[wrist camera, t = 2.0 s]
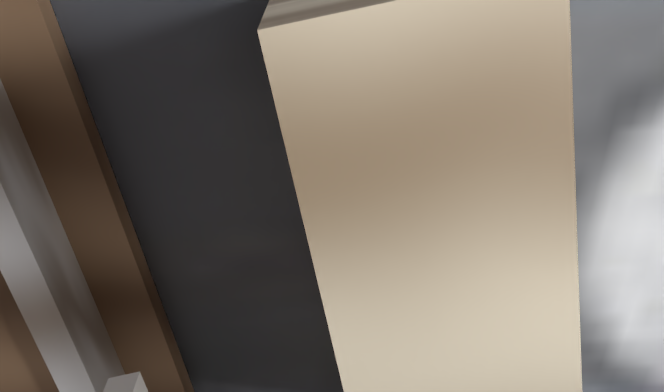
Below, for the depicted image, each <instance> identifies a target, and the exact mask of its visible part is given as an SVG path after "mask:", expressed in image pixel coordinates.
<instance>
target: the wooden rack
mask: <svg viewBox="0 0 664 392" xmlns="http://www.w3.org/2000/svg"><path fill="white" fill-rule="evenodd" d="M139 371H140V373H141V376H142V378H143V380H144V383H145V385H146V388H147V390H148V392H194V389H193V387H192V384H191V381H190V378H189V376H188V373H187V370H186V368H185V365H184V362H183V360H182V357H181V354H180V351H179V349H178V346H177V343H176V341H175V338H174V335H173V333H172V330H171V327H170V324H169V322H168V319H167V316H166V314H165V311H164V308H163V305H162V303H161V300H160V297H159V295H158V292H157V289H156V287H155V284H154V281H153V278H152V276H151V273H150V270H149V268H148V265H147V262H146V260H145V257H144V254H143V251H142V249H141V246H140V243H139V241H138V238H137V235H136V232H135V230H134V227H133V224H132V222H131V219H130V216H129V214H128V211H127V208H126V205H125V203H124V200H123V197H122V195H121V192H120V189H119V187H118V184H117V181H116V178H115V176H114V173H113V170H112V168H111V165H110V162H109V159H108V157H107V154H106V151H105V149H104V146H103V143H102V141H101V138H100V135H99V132H98V130H97V127H96V124H95V122H94V119H93V116H92V114H91V111H90V108H89V105H88V103H87V100H86V97H85V95H84V92H83V89H82V86H81V84H80V81H79V78H78V76H77V73H76V70H75V68H74V65H73V62H72V59H71V57H70V54H69V51H68V49H67V46H66V43H65V41H64V38H63V35H62V32H61V30H60V27H59V24H58V22H57V19H56V16H55V14H54V11H53V8H52V5H51V3H50V0H0V392H103V391H104V388H105V386H106V383H107V381H108V378H112V377H117V376H121V375H126V374H130V373H135V372H139Z"/></svg>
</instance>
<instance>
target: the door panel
mask: <svg viewBox="0 0 664 392" xmlns="http://www.w3.org/2000/svg"><path fill="white" fill-rule="evenodd" d="M257 32H258V36H259V40H260V44H261V48H262V53H263V57H264V61H265V65H266V69H267V74H268V78H269V82H270V86H271V90H272V94H273V99H274V103H275V107H276V111H277V115H278V119H279V124H280V128H281V132H282V136H283V140H284V144H285V149H286V153H287V157H288V161H289V165H290V169H291V174H292V178H293V182H294V186H295V190H296V194H297V199H298V203H299V207H300V211H301V215H302V219H303V224H304V228H305V232H306V236H307V240H308V244H309V249H310V253H311V257H312V261H313V265H314V269H315V274H316V278H317V282H318V286H319V290H320V294H321V299H322V303H323V307H324V311H325V315H326V319H327V324H328V328H329V332H330V336H331V340H332V344H333V349H334V353H335V357H336V361H337V365H338V369H339V374H340V378H341V382H342V386H343V390H344V392H582V371H581V340H580V309H579V278H578V247H577V216H576V185H575V154H574V123H573V92H572V61H571V30H570V0H269V2H268V5H267V7H266V10H265V12H264V15H263V17H262V20H261V22H260V24H259V27H258V29H257Z"/></svg>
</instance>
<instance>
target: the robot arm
mask: <svg viewBox="0 0 664 392" xmlns="http://www.w3.org/2000/svg"><path fill="white" fill-rule="evenodd" d="M103 392H148V390H147V388H146V385H145V383H144V380H143V378H142V376H141V373H140V371H139V372H135V373H130V374H126V375H121V376H117V377H112V378H108V381H107V383H106V386H105V388H104V391H103Z"/></svg>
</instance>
